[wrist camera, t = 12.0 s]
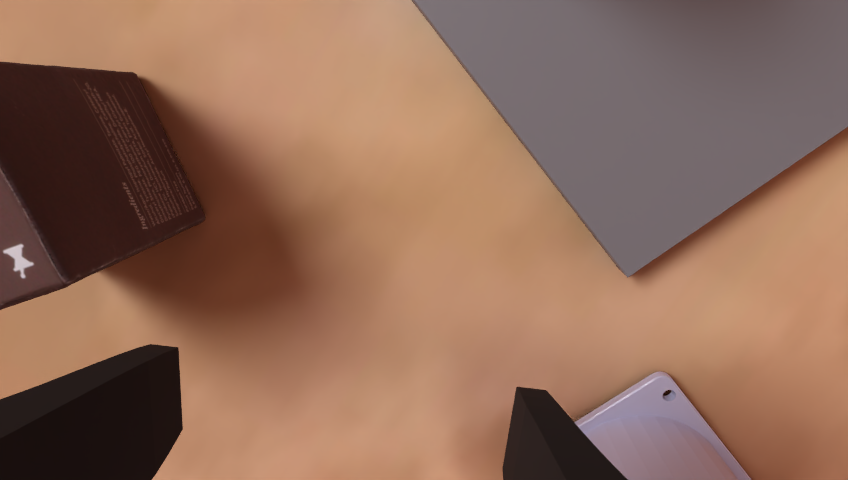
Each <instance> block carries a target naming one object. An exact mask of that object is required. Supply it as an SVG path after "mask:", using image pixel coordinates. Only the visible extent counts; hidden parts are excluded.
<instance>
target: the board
mask: <svg viewBox="0 0 848 480" xmlns="http://www.w3.org/2000/svg"><path fill="white" fill-rule="evenodd" d="M412 1H413V3H414V4H415V5H416V7H417V8H418V9H419V10H420V12H421V13H422V14H423V16H424V17H425V18H426V20H427V21H428V22H429V23H430V25H431V26H432V27H433V29H434V30H435V31H436V32H437V34H438V35H439V36H440V38H441V39H442V40H443V42H444V43H445V44H446V45H447V47H448V48H449V49H450V51H451V52H452V53H453V55H454V56H455V57H456V58H457V60H458V61H459V62H460V64H461V65H462V66H463V67H464V69H465V70H466V71H467V73H468V74H469V75H470V77H471V78H472V79H473V80H474V82H475V83H476V84H477V86H478V87H479V88H480V90H481V91H482V92H483V93H484V95H485V96H486V97H487V99H488V100H489V101H490V102H491V104H492V105H493V106H494V108H495V109H496V110H497V112H498V113H499V114H500V115H501V117H502V118H503V119H504V121H505V122H506V123H507V124H508V126H509V127H510V128H511V130H512V131H513V132H514V134H515V135H516V136H517V137H518V139H519V140H520V141H521V143H522V144H523V145H524V147H525V148H526V149H527V150H528V152H529V153H530V154H531V156H532V157H533V158H534V159H535V161H536V162H537V163H538V165H539V166H540V167H541V169H542V170H543V171H544V172H545V174H546V175H547V176H548V178H549V179H550V180H551V182H552V183H553V184H554V185H555V187H556V188H557V189H558V191H559V192H560V193H561V194H562V196H563V197H564V198H565V200H566V201H567V202H568V204H569V205H570V206H571V207H572V209H573V210H574V211H575V213H576V214H577V215H578V217H579V218H580V219H581V220H582V222H583V223H584V224H585V226H586V227H587V228H588V229H589V231H590V232H591V233H592V235H593V236H594V237H595V239H596V240H597V241H598V242H599V244H600V245H601V246H602V248H603V249H604V250H605V252H606V253H607V254H608V255H609V257H610V258H611V259H612V261H613V262H614V263H615V264H616V266H617V267H618V268H619V269H620V270H621V271H622V272H623V273H624V274H625V275H626V276H627V277H629V276H631V275H632V274H633V273H635V272H636V271H638V270H639V269H641V268H642V267H644V266H645V265H647V264H648V263H650V262H651V261H652V260H654V259H655V258H657V257H658V256H660V255H661V254H663V253H664V252H666V251H667V250H669V249H670V248H671V247H673V246H674V245H676V244H677V243H679V242H680V241H682V240H683V239H685V238H686V237H688V236H689V235H690V234H692V233H693V232H695V231H696V230H698V229H699V228H701V227H702V226H704V225H705V224H706V223H708V222H709V221H711V220H712V219H714V218H715V217H717V216H718V215H720V214H721V213H723V212H724V211H725V210H727V209H728V208H730V207H731V206H733V205H734V204H736V203H737V202H739V201H740V200H742V199H743V198H744V197H746V196H747V195H749V194H750V193H752V192H753V191H755V190H756V189H758V188H759V187H760V186H762V185H763V184H765V183H766V182H768V181H769V180H771V179H772V178H774V177H775V176H777V175H778V174H779V173H781V172H782V171H784V170H785V169H787V168H788V167H790V166H791V165H793V164H794V163H796V162H797V161H798V160H800V159H801V158H803V157H804V156H806V155H807V154H809V153H810V152H812V151H813V150H815V149H816V148H817V147H819V146H820V145H822V144H823V143H825V142H826V141H828V140H829V139H831V138H832V137H833V136H835V135H836V134H838V133H839V132H841V131H842V130H844V129H845V128H847V127H848V0H412Z"/></svg>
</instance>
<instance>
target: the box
mask: <svg viewBox="0 0 848 480" xmlns="http://www.w3.org/2000/svg"><path fill="white" fill-rule="evenodd" d="M204 220H205V215H204V213H203V211H202V209H201V207H200V205H199V203H198V201H197V198H196V196H195V194H194V192H193V190H192V188H191V186H190V184H189V182H188V179H187V178H186V176H185V174H184V172H183V170H182V168H181V166H180V164H179V162H178V159H177V157H176V156H175V154H174V151H173V149H172V147H171V145H170V143H169V141H168V139H167V137H166V135H165V133H164V131H163V129H162V126H161V124H160V122H159V120H158V117H157V115H156V113H155V111H154V109H153V107H152V105H151V102H150V100H149V98H148V97H147V95H146V93H145V90H144V88H143V87H142V85H141V83H140V80H139V78H138V76H137V75H136V74H135V73H133V72H116V71H107V70H95V69H85V68H71V67H61V66H44V65H31V64H20V63H10V62H0V310H1V309H4V308H7V307H10V306H13V305H16V304H19V303H22V302H24V301H28V300H31V299H34V298H36V297H39V296H42V295H46V294H49V293H51V292H54V291H57V290H60V289H63V288H66V287H68V286H69V285H71V284H73V283H75V282H77V281H79V280H81V279H83V278H85V277H87V276H89V275H91V274H94V273H96V272H98V271H101V270H103V269H105V268H107V267H109V266H111V265H114V264H116V263H118V262H120V261H122V260H124V259H126V258H128V257H130V256H132V255H135V254H137V253H139V252H141V251H143V250H145V249H147V248H150V247H152V246H154V245H156V244H158V243H160V242H162V241H164V240H166V239H168V238H170V237H172V236H174V235H176V234H178V233H180V232H182V231H184V230H186V229H188V228H191V227H193V226H195V225H197V224H199V223H201V222H203V221H204Z"/></svg>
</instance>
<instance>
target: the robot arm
mask: <svg viewBox="0 0 848 480" xmlns="http://www.w3.org/2000/svg"><path fill="white" fill-rule="evenodd" d="M667 390H671V393H670V394H669V395H666V396H664V395H663V393H664V392H665V391H667ZM182 430H183V427H182V408H181V389H180V370H179V351H178V347H169V346H161V345H152V344H150V345H146V346H143V347H139V348H136V349H133V350H130V351H127V352H124V353H122V354H119V355H116V356H114V357H111V358H108V359H106V360H103V361H101V362H98V363H95V364H93V365H90V366H88V367H85V368H83V369H80V370H77V371H75V372H72V373H70V374H67V375H65V376H62V377H59V378H57V379H54V380H52V381H49V382H47V383H44V384H42V385H39V386H36V387H34V388H31V389H28V390H25V391H23V392H20V393H17V394H14V395H12V396H9V397H6V398H3V399H0V480H152V478H153V477H154V476H155V474H156V473H157V471H158V470H159V468H160V467H161V465H162V463H163V462H164V460H165V459H166V457H167V455H168V454H169V452H170V450H171V449H172V447H173V445H174V443H175V442H176V440H177V438H178V437H179V435H180V433H181V431H182ZM503 480H751V478H750V477H749V476H748V474H747V473H746V472H745V471H744V469H743V468H742V467H741V466H740V464H739V463H738V462H737V460H736V459H735V458H734V457H733V455H732V454H731V453H730V452H729V450H728V449H727V448H726V447H725V445H724V444H723V443H722V441H721V440H720V439H719V438H718V436H717V435H716V434H715V433H714V431H713V430H712V429H711V427H710V426H709V425H708V424H707V422H706V421H705V420H704V419H703V417H702V416H701V415H700V414H699V412H698V411H697V410H696V408H695V407H694V406H693V405H692V403H691V402H690V401H689V400H688V398H687V397H686V396H685V395H684V393H683V392H682V391H681V389H680V388H679V387H678V386H677V384H676V383H675V382H674V381H673V379H672V378H671V377H670V376H669V375H668V374H667V373H665V372H662V371H661V372H655V373H652V374H651V375H649V376H648V377H646V378H644V379H643V380H641V381H640V382H638V383H636V384H635V385H633V386H632V387H630V388H628V389H627V390H625V391H624V392H622V393H620V394H619V395H617V396H616V397H614V398H612V399H611V400H609V401H608V402H606V403H604V404H603V405H601V406H600V407H598V408H596V409H595V410H593V411H592V412H590V413H588V414H587V415H585V416H584V417H582V418H580V419H579V420H577V421H576V422H573V420H572V419H571V418H570V417H569V416H568V415H567V413H566V412H565V411H564V410H563V409H562V408H561V407H560V405H559V404H558V403H557V402H556V401H555V400H554V398H553V397H552V396H551V395H550V394H549V393H548V392H547V391H546V390H539V389H531V388H522V387H517V388H516V393H515V399H514V405H513V411H512V417H511V423H510V428H509V434H508V440H507V446H506V452H505V458H504V464H503Z"/></svg>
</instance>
